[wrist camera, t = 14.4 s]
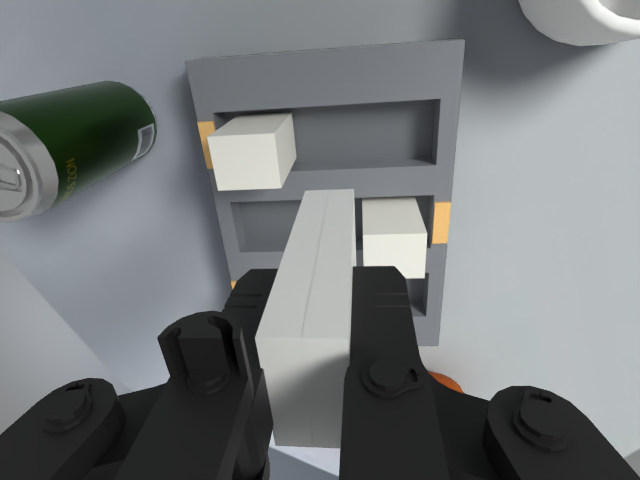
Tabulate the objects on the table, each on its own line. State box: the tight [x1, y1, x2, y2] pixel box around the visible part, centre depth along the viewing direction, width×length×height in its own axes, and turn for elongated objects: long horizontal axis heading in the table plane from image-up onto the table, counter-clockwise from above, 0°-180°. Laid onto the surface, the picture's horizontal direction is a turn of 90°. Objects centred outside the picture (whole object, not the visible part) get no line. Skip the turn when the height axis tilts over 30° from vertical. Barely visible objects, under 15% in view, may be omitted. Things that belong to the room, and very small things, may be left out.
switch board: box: [185, 39, 465, 346], centre depth 29 cm, size 22×16×3 cm
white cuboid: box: [362, 196, 427, 278], centre depth 26 cm, size 3×4×6 cm
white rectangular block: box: [207, 112, 297, 191], centre depth 24 cm, size 3×4×6 cm
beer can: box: [0, 81, 157, 222], centre depth 23 cm, size 5×5×12 cm
